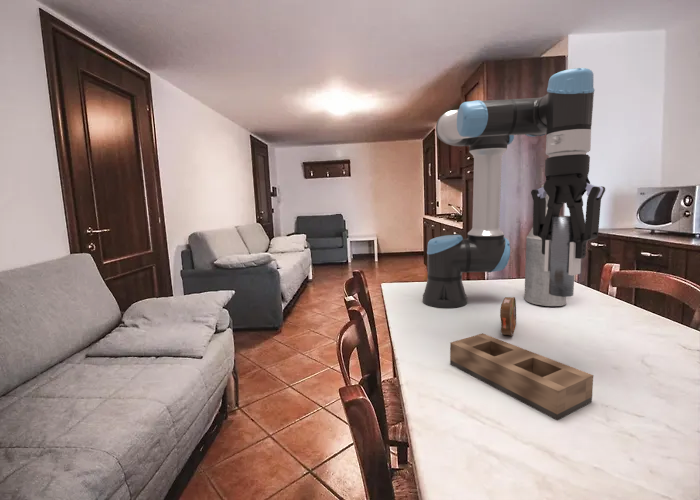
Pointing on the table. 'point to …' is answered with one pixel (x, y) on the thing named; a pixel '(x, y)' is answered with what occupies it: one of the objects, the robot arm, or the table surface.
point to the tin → (508, 316)
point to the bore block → (523, 374)
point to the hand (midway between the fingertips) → (561, 272)
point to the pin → (561, 257)
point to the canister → (538, 273)
